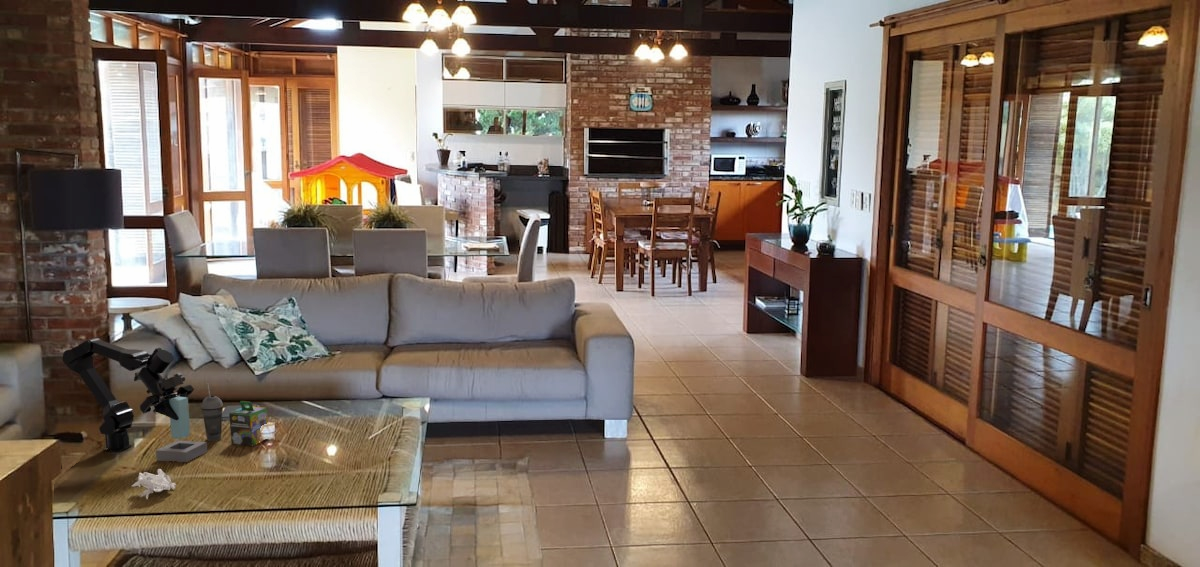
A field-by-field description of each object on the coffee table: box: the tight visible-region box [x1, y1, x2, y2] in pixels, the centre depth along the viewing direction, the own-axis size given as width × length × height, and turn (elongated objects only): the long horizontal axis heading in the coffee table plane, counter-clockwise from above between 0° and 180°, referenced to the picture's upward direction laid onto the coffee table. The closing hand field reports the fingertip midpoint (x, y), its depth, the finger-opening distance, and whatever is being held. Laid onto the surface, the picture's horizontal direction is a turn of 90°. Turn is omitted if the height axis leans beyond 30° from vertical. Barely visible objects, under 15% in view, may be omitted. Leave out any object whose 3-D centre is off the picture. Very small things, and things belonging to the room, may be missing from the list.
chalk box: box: [229, 400, 269, 447], centre depth 327 cm, size 9×9×15 cm
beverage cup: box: [200, 383, 224, 442], centre depth 329 cm, size 7×7×20 cm
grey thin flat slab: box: [222, 403, 261, 420], centre depth 364 cm, size 20×2×15 cm
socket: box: [155, 439, 208, 463], centre depth 312 cm, size 11×11×4 cm
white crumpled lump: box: [131, 468, 177, 500], centre depth 278 cm, size 12×7×12 cm
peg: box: [169, 397, 191, 440], centre depth 310 cm, size 4×4×13 cm
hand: (182, 417), depth 310 cm, fingers closed on peg, 4 cm apart
